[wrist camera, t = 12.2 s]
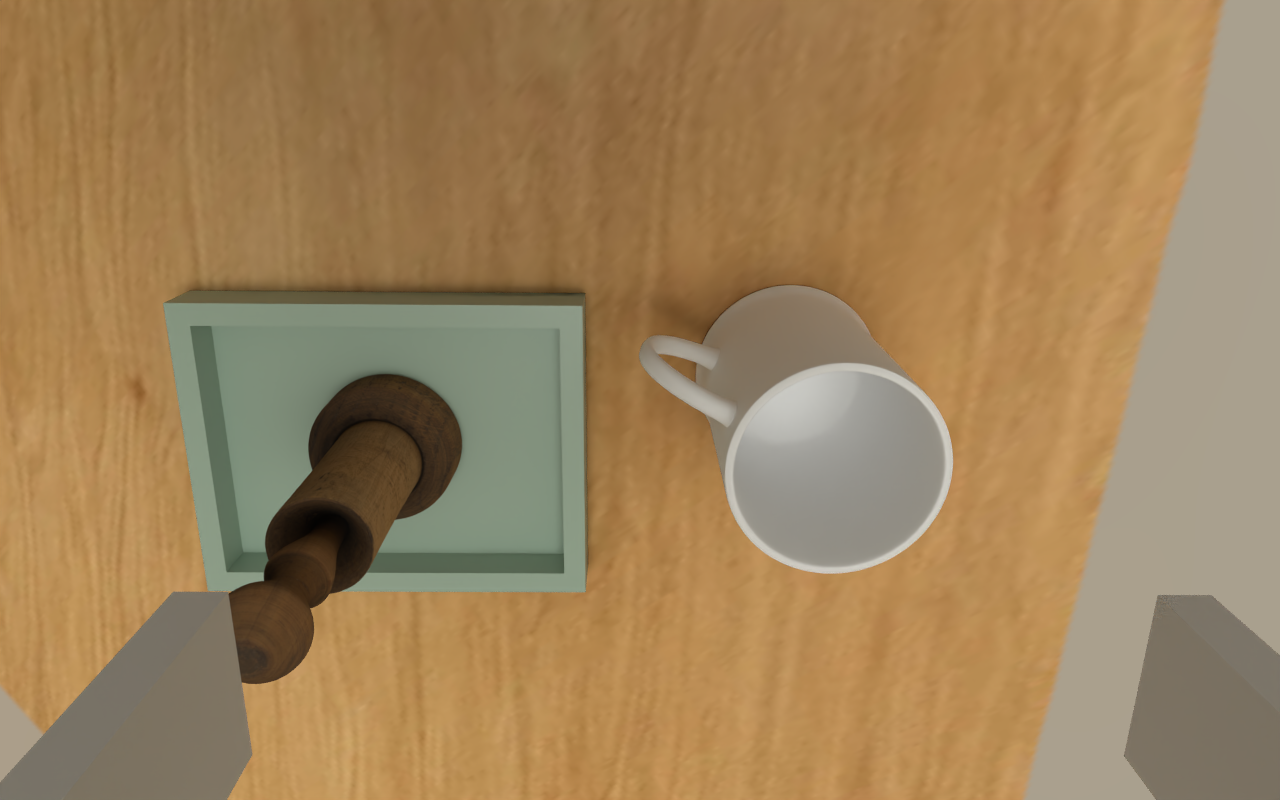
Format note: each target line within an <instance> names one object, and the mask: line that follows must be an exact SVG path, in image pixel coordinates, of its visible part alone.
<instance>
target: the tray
mask: <svg viewBox="0 0 1280 800" xmlns="http://www.w3.org/2000/svg"><path fill="white" fill-rule="evenodd" d="M163 306H164V312H165V318H166V325H167V331H168V338H169V344H170V350H171V357H172V363H173V370H174V376H175V382H176V389H177V395H178V401H179V408H180V414H181V421H182V427H183V433H184V440H185V446H186V453H187V459H188V465H189V472H190V478H191V485H192V491H193V497H194V504H195V510H196V516H197V523H198V529H199V536H200V542H201V548H202V555H203V561H204V568H205V574H206V580H207V587H208V591H234V590H235V589H237V588H239V587H241V586H243V585H246V584H249V583H253V582H258V581H264V569H265V566H266V564H267V562H268V561H269V560H268V557H267V554H266V549H265V536H266V532H267V528H268V526H269V524H270V522H271V520H272V518H273V517H274V515H275V514H276V513H277V512H278V510H279V509H280V508H281V507H282V506H283V505H284V503H285V502H286V501H287V500H288V499H289V498H290V496H291V495H292V494H293V493H294V492H295V491H296V489H297V488H298V487H299V486H300V485H301V483H302V482H303V481H304V480H305V479H306V478H307V476H308V475H309V474H310V473H311V472H312V467H311V464H310V459H309V452H308V443H309V436H310V431H311V428H312V426H313V423H314V421H315V419H316V418H317V416H318V414H319V413H320V412H321V410H322V409H323V408H324V407H325V406H326V405H327V403H328V402H329V401H330V400H331V399H332V398H333V397H334V396H335V395H336V394H337V393H338V392H339V391H340V390H341V389H342V388H344V387H345V386H347V385H348V384H350V383H352V382H354V381H356V380H358V379H360V378H363V377H367V376H371V375H377V374H394V375H400V376H404V377H408V378H411V379H413V380H416V381H418V382H420V383H422V384H424V385H425V386H427V387H429V388H430V389H432V390H433V391H434V392H435V393H437V394H438V395H439V396H440V397H441V398H442V399H443V400H444V401H445V402H446V404H447V405H448V406H449V407H450V409H451V410H452V412H453V414H454V415H455V417H456V419H457V422H458V424H459V427H460V431H461V436H462V452H461V458H460V462H459V465H458V468H457V470H456V472H455V474H454V476H453V478H452V479H451V481H450V483H449V485H448V487H447V489H446V490H445V492H444V493H443V494H442V496H441V497H440V498H439V499H438V500H437V501H436V502H435V503H434V504H433V505H431V506H430V507H429V508H427V509H426V510H424V511H422V512H420V513H418V514H416V515H414V516H411V517H408V518H404V519H398V520H395V521H394V523H393V525H392V526H391V528H390V530H389V532H388V534H387V536H386V537H385V539H384V541H383V543H382V545H381V547H380V549H379V551H378V553H377V555H376V557H375V559H374V561H373V562H372V564H371V566H370V568H369V570H368V571H367V573H366V574H365V575H364V577H363V578H362V579H361V580H360V581H359V582H357V583H356V584H355V585H353V586H352V587H350V588H348V589H346V590H343V591H380V592H586V582H587V571H588V521H587V422H586V323H585V293H470V292H324V291H188V292H186V293H184V294H182V295H180V296H177V297H175V298H173V299H171V300H169V301H167V302H164V303H163Z"/></svg>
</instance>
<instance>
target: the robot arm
mask: <svg viewBox="0 0 1280 800" xmlns="http://www.w3.org/2000/svg"><path fill="white" fill-rule="evenodd" d="M251 756H252V749H251V742H250V735H249V729H248V722H247V715H246V709H245V702H244V695H243V688H242V682H241V675H240V668H239V662H238V655H237V648H236V641H235V635H234V628H233V621H232V615H231V608H230V601H229V594H228V592H173V593H172V594H171V595H170V596H169V597H168V598H167V599H166V600H165V602H164V603H163V604H162V605H161V606H160V607H159V608H158V609H157V610H156V611H155V613H154V614H153V615H152V616H151V617H150V618H149V619H148V620H147V621H146V622H145V624H144V625H143V626H142V627H141V628H140V629H139V630H138V631H137V632H136V633H135V635H134V636H133V637H132V638H131V639H130V640H129V641H128V642H127V643H126V644H125V646H124V647H123V648H122V649H121V650H120V651H119V652H118V653H117V654H116V656H115V657H114V658H113V659H112V660H111V661H110V662H109V663H108V664H107V665H106V667H105V668H104V669H103V670H102V671H101V672H100V673H99V674H98V675H97V676H96V678H95V679H94V680H93V681H92V682H91V683H90V684H89V685H88V686H87V687H86V689H85V690H84V691H83V692H82V693H81V694H80V695H79V696H78V697H77V698H76V700H75V701H74V702H73V703H72V704H71V705H70V706H69V707H68V708H67V709H66V711H65V712H64V713H63V714H62V715H61V716H60V717H59V718H58V719H57V720H56V722H55V723H54V724H53V725H52V726H51V727H50V728H49V729H48V730H47V731H46V733H45V734H44V735H43V736H42V737H41V738H40V739H39V740H38V741H37V743H36V744H35V745H34V746H33V747H32V748H31V749H30V750H29V751H28V753H27V754H26V755H25V756H24V757H23V758H22V759H21V760H20V761H19V762H18V764H17V765H16V766H15V767H14V768H13V769H12V770H11V771H10V772H9V773H8V774H7V776H6V777H5V778H4V779H3V780H2V781H1V782H0V800H227V798H228V797H229V795H230V793H231V791H232V790H233V788H234V786H235V784H236V782H237V781H238V779H239V777H240V775H241V774H242V772H243V770H244V768H245V767H246V765H247V763H248V761H249V760H250V758H251ZM1124 757H1125V758H1126V759H1127V761H1128V762H1129V763H1130V765H1131V766H1132V767H1133V769H1134V770H1135V772H1136V773H1137V774H1138V775H1139V777H1140V778H1141V780H1142V781H1143V782H1144V784H1145V785H1146V786H1147V788H1148V789H1149V791H1150V792H1151V793H1152V795H1153V796H1154V797H1155V799H1156V800H1280V655H1279V654H1278V653H1276V652H1275V651H1274V650H1273V649H1272V648H1271V647H1270V646H1269V645H1267V644H1266V643H1265V642H1264V641H1263V640H1262V639H1260V638H1259V637H1258V636H1257V635H1256V634H1255V633H1254V632H1253V631H1251V630H1250V629H1249V628H1248V627H1247V626H1246V625H1245V624H1243V623H1242V622H1241V621H1240V620H1239V619H1238V618H1236V617H1235V616H1234V615H1233V614H1232V613H1231V612H1230V611H1229V610H1227V609H1226V608H1225V607H1224V606H1223V605H1222V604H1221V603H1220V602H1218V601H1217V600H1216V599H1215V598H1214V597H1213V596H1211V595H1158V597H1157V601H1156V606H1155V611H1154V616H1153V621H1152V625H1151V630H1150V635H1149V640H1148V644H1147V649H1146V654H1145V659H1144V663H1143V668H1142V673H1141V678H1140V682H1139V687H1138V692H1137V697H1136V702H1135V706H1134V711H1133V716H1132V720H1131V725H1130V730H1129V735H1128V740H1127V744H1126V749H1125V754H1124Z"/></svg>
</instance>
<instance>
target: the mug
mask: <svg viewBox="0 0 1280 800" xmlns="http://www.w3.org/2000/svg"><path fill="white" fill-rule="evenodd" d="M658 354H666V355H672V356H676V357H680V358H683V359H687V360H690V361H693V362H696V363H697V365H696V383H695V382H693V381H692V380H690V379H689V378H687V377H685V376H684V375H682V374H681V373H680V372H678V371H677V370H675V369H674V368H673V367H671V366H670V365H669V364H668V363H666V362H665V361H664V360H663V359H662V358H661V357H660V356H659V355H658ZM639 359H640V362H641V364H642V366H643V368H644V369H645V370H646V371H647V373H648V374H649V375H650V376H651V377H652V378H653V379H654V380H655V381H656V382H658V383H659V384H660V385H661V386H662V387H664V388H665V389H666V390H668V391H669V392H670V393H672V394H673V395H675V396H676V397H678V398H679V399H681V400H682V401H684V402H685V403H687V404H689V405H690V406H692V407H694V408H695V409H697V410H699V411H701V412H702V413H704V414H705V416H706V418H707V419H708V421H709V423H710V427H711V431H712V435H713V440H714V444H715V448H716V453H717V457H718V461H719V466H720V470H721V474H722V479H723V483H724V487H725V492H726V496H727V499H728V503H729V506H730V508H731V511H732V513H733V515H734V517H735V519H736V521H737V523H738V525H739V526H740V528H741V529H742V531H743V532H744V533H745V535H746V536H747V537H748V538H749V539H750V540H751V541H752V542H753V543H754V544H755V545H756V546H757V547H758V548H759V549H760V550H762V551H763V552H764V553H766V554H767V555H769V556H770V557H772V558H773V559H775V560H777V561H779V562H781V563H783V564H786V565H788V566H791V567H794V568H797V569H800V570H804V571H809V572H816V573H846V572H853V571H858V570H862V569H866V568H869V567H872V566H875V565H877V564H880V563H882V562H884V561H886V560H888V559H890V558H892V557H894V556H896V555H897V554H899V553H900V552H902V551H903V550H905V549H906V548H908V547H909V546H910V545H911V544H913V543H914V542H915V541H916V540H917V539H918V538H919V537H920V536H921V535H922V534H923V533H924V532H925V531H926V530H927V528H928V527H929V526H930V525H931V523H932V522H933V520H934V519H935V517H936V516H937V514H938V513H939V511H940V509H941V507H942V505H943V503H944V501H945V498H946V496H947V493H948V490H949V486H950V482H951V477H952V469H953V452H952V445H951V439H950V435H949V432H948V429H947V426H946V424H945V422H944V419H943V417H942V416H941V414H940V412H939V410H938V409H937V407H936V406H935V404H934V403H933V402H932V400H931V399H930V398H929V397H928V396H927V395H926V393H925V392H924V391H923V390H922V389H921V388H920V387H919V386H918V385H917V384H916V383H915V382H914V381H913V380H912V379H911V378H910V377H909V376H908V375H907V374H906V372H905V371H904V370H903V369H902V368H901V367H900V366H899V365H898V364H897V363H896V362H895V361H894V360H893V359H892V358H891V357H890V356H889V355H888V354H887V353H886V352H885V351H884V350H883V348H882V347H881V346H880V345H879V344H878V343H877V342H876V341H875V340H874V339H873V338H872V337H871V334H870V332H869V330H868V329H867V327H866V325H865V324H864V322H863V321H862V319H861V318H860V317H859V316H858V314H857V313H856V312H855V311H854V310H853V309H852V308H851V307H850V306H848V305H847V304H846V303H845V302H843V301H842V300H840V299H839V298H837V297H835V296H834V295H832V294H829V293H827V292H825V291H822V290H819V289H816V288H812V287H807V286H799V285H783V286H775V287H770V288H766V289H762V290H759V291H757V292H754V293H752V294H750V295H748V296H746V297H744V298H742V299H740V300H739V301H737V302H736V303H734V304H733V305H732V306H730V307H729V308H728V309H727V310H726V311H725V312H724V313H723V314H722V315H721V316H720V317H719V318H718V319H717V320H716V321H715V323H714V324H713V325H712V327H711V328H710V330H709V331H708V333H707V335H706V337H705V339H704V341H703V343H702V344H699V343H696V342H693V341H689V340H686V339H682V338H678V337H673V336H666V335H655V336H651V337H649V338H647V339H646V340H645V341H644V343H643V344H642V346H641V348H640V352H639Z"/></svg>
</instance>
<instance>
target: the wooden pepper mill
mask: <svg viewBox="0 0 1280 800" xmlns="http://www.w3.org/2000/svg"><path fill="white" fill-rule="evenodd" d="M308 452H309V459H310V464H311V467H312V472H311V473H310V474H309V475H308V476H307V478H306V479H305V480H304V481H303V482H302V483H301V485H300V486H299V487H298V488H297V489H296V491H295V492H294V493H293V494H292V495H291V496H290V498H289V499H288V500H287V501H286V502H285V503H284V505H283V506H282V507H281V508H280V509H279V510H278V512H277V513H276V514H275V515H274V517H273V518H272V520H271V522H270V524H269V526H268V528H267V532H266V536H265V549H266V554H267V557H268V560H269V561H268V562H267V564H266V566H265V569H264V581H258V582H253V583H249V584H246V585H243V586H241V587H239V588H237V589H235V590H234V591H232V592H231V593H229V601H230V608H231V615H232V621H233V628H234V635H235V641H236V648H237V655H238V662H239V668H240V675H241V682H243V683H248V684H261V683H267V682H271V681H274V680H277V679H279V678H281V677H283V676H285V675H287V674H288V673H290V672H291V671H292V670H294V669H295V668H296V667H297V666H298V665H299V664H300V663H301V662H302V660H303V659H304V658H305V656H306V655H307V653H308V651H309V649H310V646H311V644H312V640H313V635H314V622H313V616H312V613H311V610H310V608H313V607H315V606H317V605H319V604H321V603H322V602H323V601H324V600H325V599H326V598H327V597H328V595H329V594H331V593H336V592H340V591H343V590H346V589H348V588H350V587H352V586H353V585H355V584H356V583H357V582H359V581H360V580H361V579H362V578H363V577H364V575H365V574H366V573H367V571H368V570H369V568H370V566H371V564H372V562H373V561H374V559H375V557H376V555H377V553H378V551H379V549H380V547H381V545H382V543H383V541H384V539H385V537H386V536H387V534H388V532H389V530H390V528H391V526H392V525H393V523H394V521H395V520H398V519H404V518H408V517H411V516H414V515H416V514H418V513H420V512H422V511H424V510H426V509H427V508H429V507H430V506H431V505H433V504H434V503H435V502H436V501H437V500H438V499H439V498H440V497H441V496H442V494H443V493H444V492H445V490H446V489H447V487H448V485H449V483H450V481H451V479H452V478H453V476H454V474H455V472H456V470H457V468H458V465H459V462H460V458H461V452H462V436H461V431H460V427H459V424H458V422H457V419H456V417H455V415H454V414H453V412H452V410H451V409H450V407H449V406H448V405H447V404H446V402H445V401H444V400H443V399H442V398H441V397H440V396H439V395H438V394H437V393H435V392H434V391H433V390H432V389H430V388H429V387H427V386H425V385H424V384H422V383H420V382H418V381H416V380H413V379H411V378H408V377H404V376H400V375H394V374H377V375H371V376H367V377H363V378H360V379H358V380H356V381H354V382H352V383H350V384H348V385H347V386H345V387H344V388H342V389H341V390H340V391H339V392H338V393H337V394H336V395H335V396H334V397H333V398H332V399H331V400H330V401H329V402H328V403H327V405H326V406H325V407H324V408H323V409H322V410H321V412H320V413H319V414H318V416H317V418H316V419H315V421H314V423H313V426H312V428H311V431H310V436H309V443H308Z"/></svg>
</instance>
